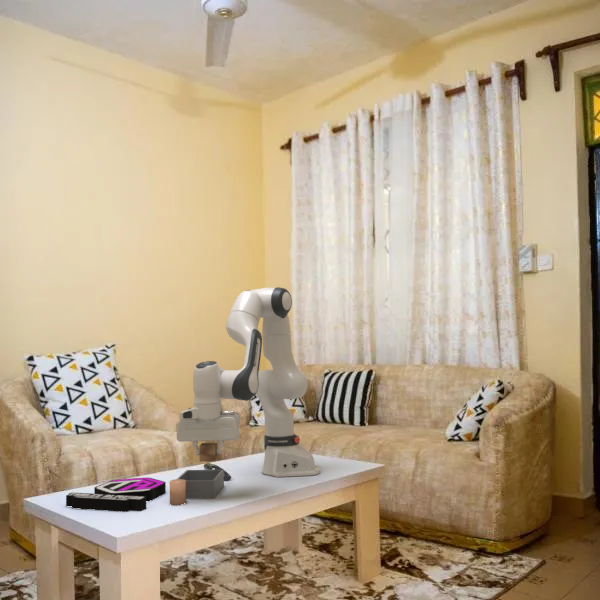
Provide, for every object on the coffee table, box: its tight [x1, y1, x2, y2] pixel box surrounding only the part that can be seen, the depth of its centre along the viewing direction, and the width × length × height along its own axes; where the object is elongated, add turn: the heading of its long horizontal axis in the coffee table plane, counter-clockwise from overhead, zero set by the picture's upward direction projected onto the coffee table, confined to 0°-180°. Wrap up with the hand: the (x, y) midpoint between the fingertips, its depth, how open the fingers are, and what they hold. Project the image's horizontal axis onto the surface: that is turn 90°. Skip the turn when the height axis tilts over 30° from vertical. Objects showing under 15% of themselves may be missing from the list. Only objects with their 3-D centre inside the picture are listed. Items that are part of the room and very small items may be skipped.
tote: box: [176, 469, 225, 499], centre depth 217 cm, size 13×17×6 cm
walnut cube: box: [198, 442, 219, 462], centre depth 208 cm, size 5×5×5 cm
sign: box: [65, 477, 167, 513], centre depth 211 cm, size 27×4×30 cm
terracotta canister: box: [169, 478, 187, 506], centre depth 203 cm, size 5×5×7 cm
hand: (208, 454), depth 208 cm, fingers closed on walnut cube, 5 cm apart
